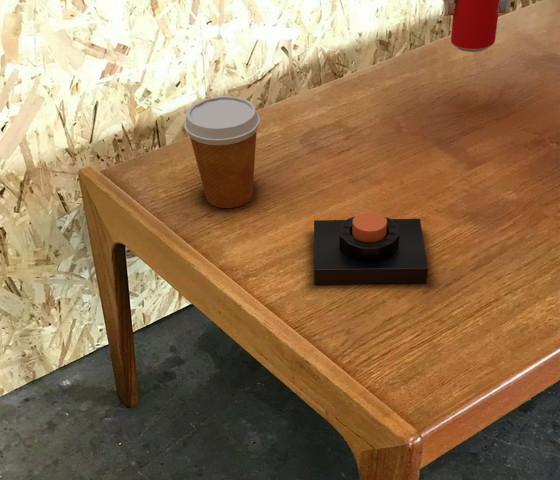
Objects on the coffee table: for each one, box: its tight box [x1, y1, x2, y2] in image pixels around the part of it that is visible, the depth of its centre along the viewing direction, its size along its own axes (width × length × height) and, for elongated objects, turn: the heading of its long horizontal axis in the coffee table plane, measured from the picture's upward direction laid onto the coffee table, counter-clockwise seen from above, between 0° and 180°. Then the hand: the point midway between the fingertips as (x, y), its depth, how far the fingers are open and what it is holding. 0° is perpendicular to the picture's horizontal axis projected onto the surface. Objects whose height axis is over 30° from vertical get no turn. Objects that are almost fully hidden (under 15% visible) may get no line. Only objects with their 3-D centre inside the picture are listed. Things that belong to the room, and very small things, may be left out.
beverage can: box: [450, 0, 500, 53], centre depth 110 cm, size 6×6×12 cm
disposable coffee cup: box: [183, 95, 261, 209], centre depth 102 cm, size 10×10×12 cm
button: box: [352, 211, 387, 242], centre depth 92 cm, size 4×4×2 cm
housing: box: [313, 215, 429, 286], centre depth 94 cm, size 13×10×4 cm
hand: (475, 12), depth 111 cm, fingers closed on beverage can, 6 cm apart
